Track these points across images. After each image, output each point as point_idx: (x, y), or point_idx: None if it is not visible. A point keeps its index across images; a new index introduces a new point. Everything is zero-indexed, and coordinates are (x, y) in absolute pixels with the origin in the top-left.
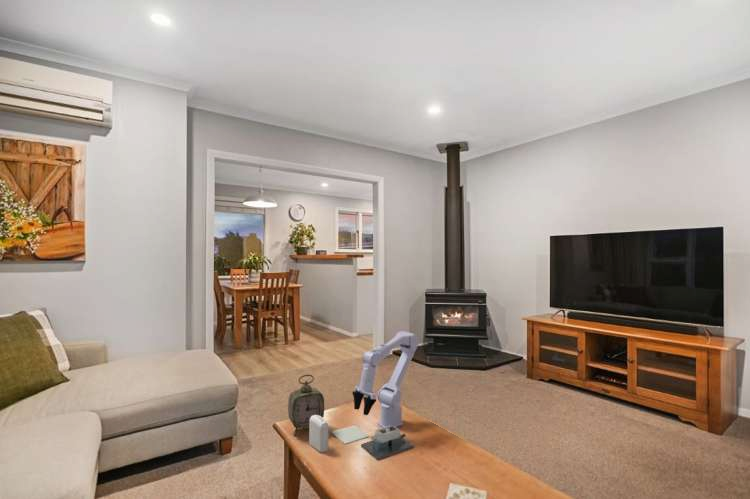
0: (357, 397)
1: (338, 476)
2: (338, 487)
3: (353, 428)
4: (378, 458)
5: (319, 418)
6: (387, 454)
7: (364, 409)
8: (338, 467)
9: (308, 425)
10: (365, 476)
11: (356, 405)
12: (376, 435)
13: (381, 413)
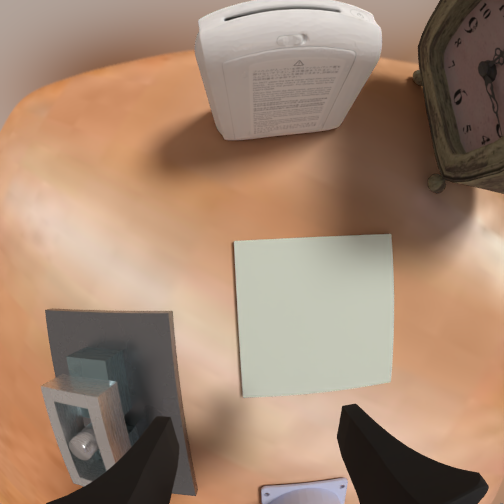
0: (386, 499)
1: (50, 128)
2: (20, 117)
3: (363, 361)
4: (49, 315)
5: (264, 2)
6: (53, 361)
7: (140, 445)
8: (86, 141)
9: (429, 106)
10: (8, 213)
11: (354, 438)
12: (96, 386)
13: None
